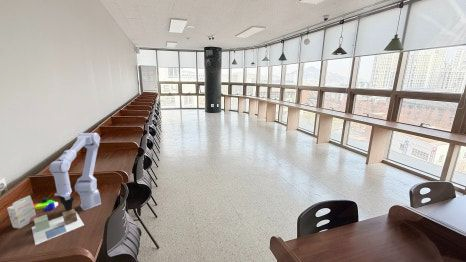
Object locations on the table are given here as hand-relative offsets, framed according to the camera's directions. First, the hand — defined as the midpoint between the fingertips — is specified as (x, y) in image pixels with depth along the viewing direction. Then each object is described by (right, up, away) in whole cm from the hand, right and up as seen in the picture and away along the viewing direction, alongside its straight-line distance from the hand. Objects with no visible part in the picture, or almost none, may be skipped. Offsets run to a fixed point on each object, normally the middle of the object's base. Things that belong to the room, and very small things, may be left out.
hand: (67, 207), depth 115 cm
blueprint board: (-3, -9, -2) cm, 10 cm away
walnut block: (0, -8, +2) cm, 8 cm away
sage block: (-10, -9, -3) cm, 14 cm away
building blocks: (-27, -6, +16) cm, 32 cm away
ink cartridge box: (-23, -9, +1) cm, 25 cm away
